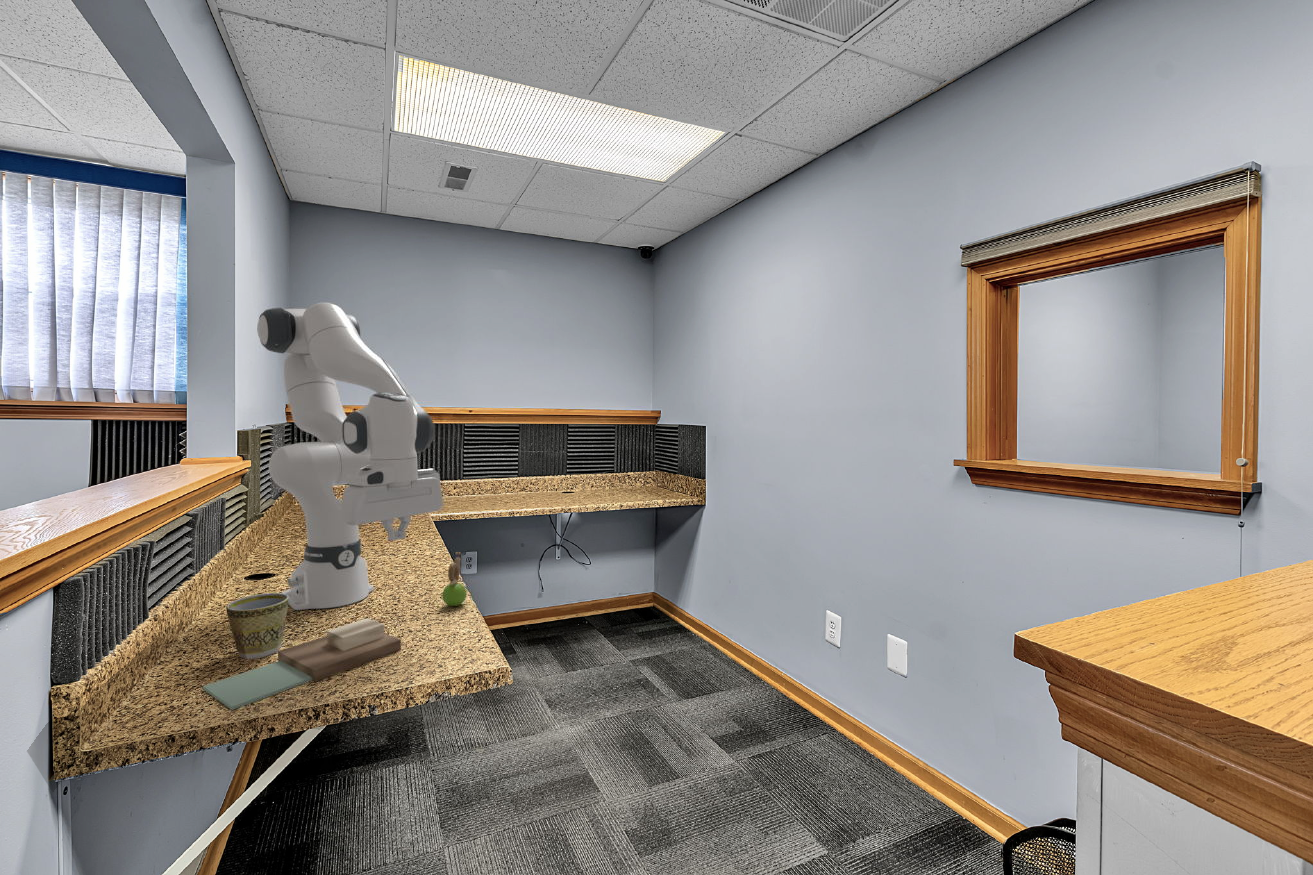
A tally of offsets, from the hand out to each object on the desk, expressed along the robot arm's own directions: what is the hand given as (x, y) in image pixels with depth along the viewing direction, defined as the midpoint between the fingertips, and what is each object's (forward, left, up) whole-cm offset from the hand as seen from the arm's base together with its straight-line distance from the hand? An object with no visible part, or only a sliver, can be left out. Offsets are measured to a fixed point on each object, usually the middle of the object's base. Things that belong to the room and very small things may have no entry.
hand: (396, 539), depth 121 cm
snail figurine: (-6, +18, -20) cm, 28 cm away
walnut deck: (0, -12, -20) cm, 23 cm away
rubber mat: (0, -26, -20) cm, 33 cm away
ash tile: (0, -9, -18) cm, 20 cm away
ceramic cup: (-16, -19, -20) cm, 32 cm away
